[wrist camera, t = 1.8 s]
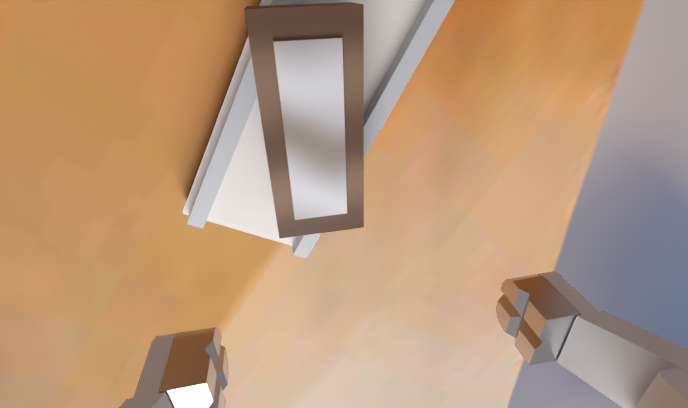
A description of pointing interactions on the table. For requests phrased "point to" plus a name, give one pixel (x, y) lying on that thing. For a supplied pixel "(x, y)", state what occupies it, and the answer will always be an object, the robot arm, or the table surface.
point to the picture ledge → (246, 127)
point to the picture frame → (311, 112)
